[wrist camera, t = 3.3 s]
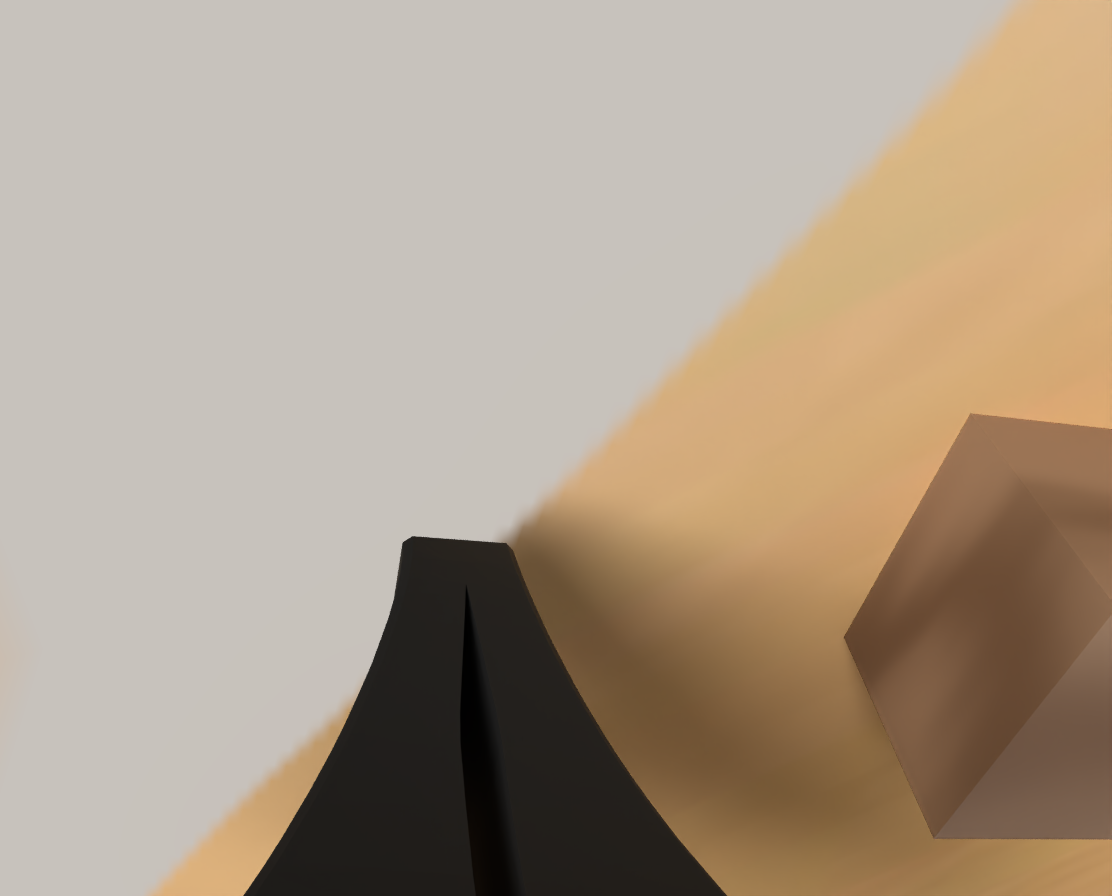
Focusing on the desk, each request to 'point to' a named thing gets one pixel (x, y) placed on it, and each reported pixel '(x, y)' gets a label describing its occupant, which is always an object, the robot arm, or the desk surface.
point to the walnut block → (1001, 635)
